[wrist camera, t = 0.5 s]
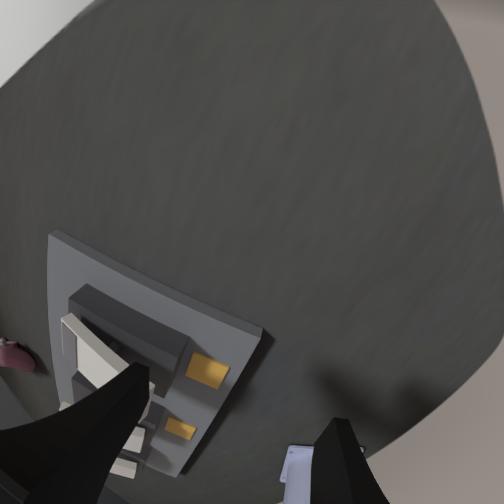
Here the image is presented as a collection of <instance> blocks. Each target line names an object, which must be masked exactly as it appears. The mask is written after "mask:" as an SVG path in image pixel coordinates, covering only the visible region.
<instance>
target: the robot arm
mask: <svg viewBox="0 0 504 504" xmlns="http://www.w3.org/2000/svg"><path fill="white" fill-rule="evenodd" d="M149 399H150V393H149V367H148V366H145V365H143V364H140V363H138V362H133V363H132V364H130V365H129V366H128V367H127V368H125V369H124V370H123V371H122V372H120V373H119V374H118V375H116V376H115V377H114V378H112V379H111V380H110V381H108V382H107V383H106V384H104V385H103V386H101V387H100V388H98V389H97V390H95V391H94V392H93V393H91V394H89V395H88V396H86V397H84V398H83V399H81V400H79V401H78V402H76V403H74V404H73V405H71V406H69V407H67V408H65V409H63V410H61V411H59V412H57V413H55V414H52V415H50V416H48V417H45V418H43V419H40V420H37V421H35V422H32V423H28V424H25V425H21V426H18V427H14V428H10V429H5V430H0V504H96V503H97V501H98V498H99V495H100V493H101V491H102V488H103V486H104V483H105V481H106V479H107V477H108V474H109V472H110V470H111V468H112V466H113V464H114V462H115V460H116V458H117V457H118V455H119V453H120V452H121V450H122V448H123V447H124V445H125V444H126V442H127V440H128V439H129V437H130V435H131V434H132V432H133V431H134V429H135V427H136V426H137V424H138V422H139V421H140V419H141V417H142V414H143V412H144V410H145V408H146V406H147V403H148V401H149ZM363 452H364V448H363V447H360V446H359V443H358V441H357V439H356V436H355V434H354V431H353V429H352V426H351V424H350V422H349V420H348V419H342V418H336V417H334V418H333V419H332V421H331V422H330V423H329V425H328V426H327V427H326V429H325V430H324V431H323V433H322V434H321V435H320V437H319V438H318V439H317V441H316V442H315V443H314V446H297V445H291V446H289V447H288V451H287V455H286V459H285V462H284V466H283V469H282V473H281V477H280V481H281V482H286V486H285V494H284V502H283V504H390V503H389V502H388V500H387V499H386V497H385V496H384V494H383V492H382V491H381V489H380V487H379V485H378V483H377V482H376V480H375V478H374V476H373V474H372V472H371V470H370V468H369V466H368V464H367V461H366V459H365V457H364V455H363Z"/></svg>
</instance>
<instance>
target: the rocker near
mask: <svg viewBox="0 0 504 504" xmlns="http://www.w3.org/2000/svg"><path fill="white" fill-rule="evenodd" d="M61 329H62V346H63V355H64V356H65V357H66V358H67V359H68V360H69V362H70V363H71V364H72V365H73V366H74V367H75V368H77V369H78V370H79V371H80V372H81V373H82V374H83V375H84V376H85V377H86V378H87V379H88V380H89V381H90V382H91V383H92V384H93V385H94V386H95V387H96V388H100V387H101V386H103V385H104V384H106V383H107V382H108V381H110V380H111V379H112V378H114V377H115V376H116V375H118V374H119V373H120V372H122V371H123V370H124V369H125V368H127V367H128V366H129V364H128V363H126V362H125V361H124V360H123V359H122V358H120V357H119V356H118V355H117V354H116V353H114V352H113V351H112V350H111V349H110V348H109V347H108V346H106V345H105V344H104V343H103V342H102V341H101V340H100V339H99V338H97V337H96V336H95V335H94V334H93V333H92V332H91V331H90V330H89V329H88V328H87V327H86V326H85V325H84V324H83V323H81V322H80V321H79V320H78V319H77V318H76V317H75V316H74V315H73V314H72V313H70V314H68V315H66V316H64V317H62V318H61ZM154 388H155V385H154V384H153V383H152V382H150V381H149V393H150V399H149V401H148V403H147V406H146V408H145V410H144V412H143V414H142V417H141V419H140V421H139V422H138V423H140V422H141V421H142V420H143V419H144V418H145V417H146V416H147V414H148V410H149V406H150V403H151V399H152V395H153V391H154Z"/></svg>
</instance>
